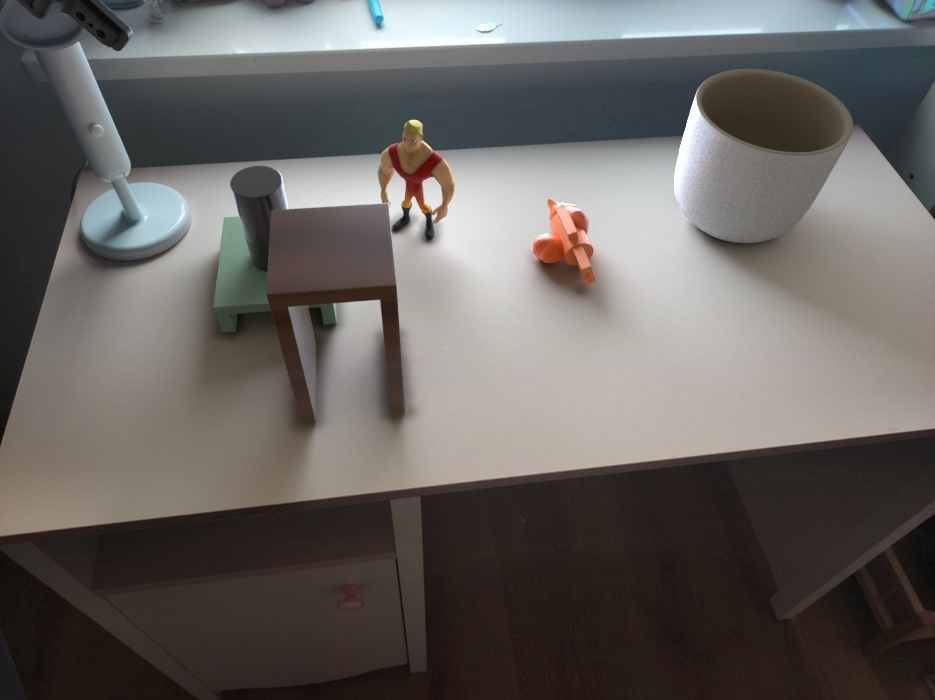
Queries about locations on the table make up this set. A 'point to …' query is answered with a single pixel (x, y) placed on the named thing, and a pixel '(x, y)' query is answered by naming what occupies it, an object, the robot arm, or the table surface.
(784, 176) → the planter
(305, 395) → the high shelf
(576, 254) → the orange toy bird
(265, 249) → the glossy black cylinder
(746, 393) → the table surface
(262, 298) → the low shelf
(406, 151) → the action figure
